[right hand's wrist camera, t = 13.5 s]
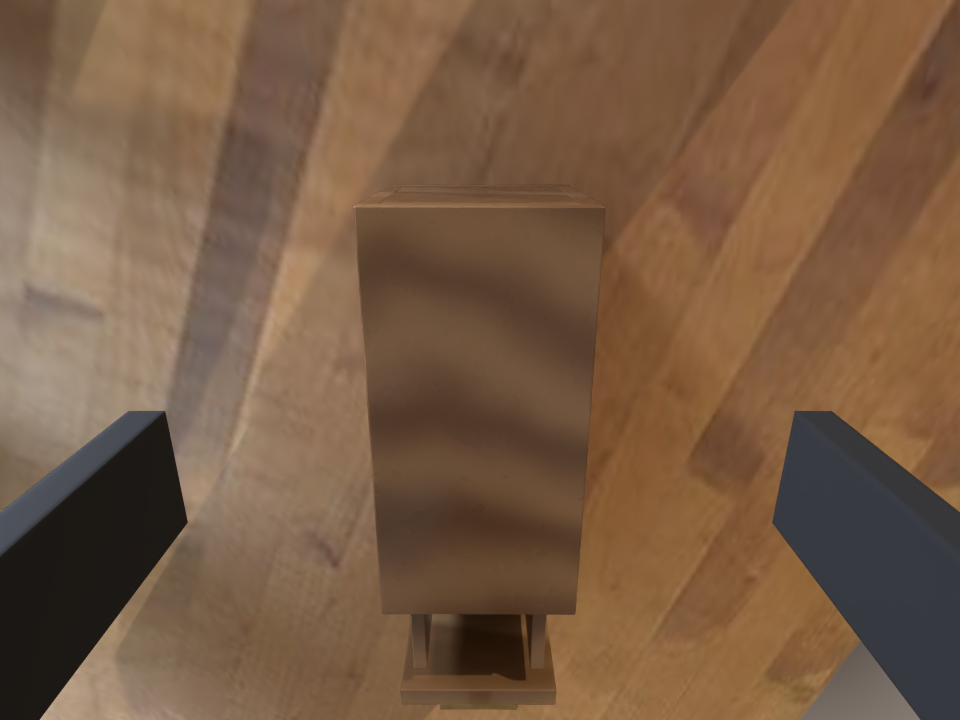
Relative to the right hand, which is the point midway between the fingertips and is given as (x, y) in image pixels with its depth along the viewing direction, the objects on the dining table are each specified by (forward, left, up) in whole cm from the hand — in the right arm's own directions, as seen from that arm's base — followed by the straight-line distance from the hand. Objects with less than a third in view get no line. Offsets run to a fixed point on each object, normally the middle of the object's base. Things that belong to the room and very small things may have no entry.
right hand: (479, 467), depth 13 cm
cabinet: (+4, -5, -26) cm, 26 cm away
